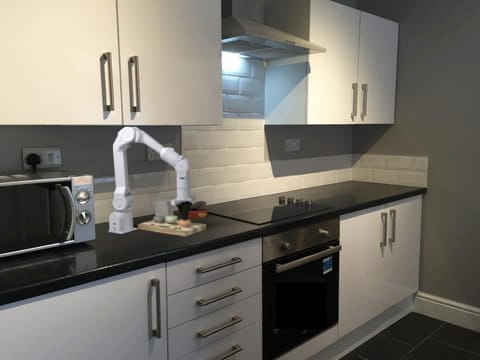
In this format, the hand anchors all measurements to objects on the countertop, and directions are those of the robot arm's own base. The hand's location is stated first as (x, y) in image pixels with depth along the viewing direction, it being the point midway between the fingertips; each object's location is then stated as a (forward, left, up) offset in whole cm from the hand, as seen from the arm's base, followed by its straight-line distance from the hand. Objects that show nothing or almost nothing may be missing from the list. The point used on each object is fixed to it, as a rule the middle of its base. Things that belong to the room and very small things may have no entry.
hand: (184, 219), depth 178 cm
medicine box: (+16, +25, -5) cm, 30 cm away
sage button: (0, +7, -2) cm, 7 cm away
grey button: (0, +14, -2) cm, 14 cm away
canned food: (+27, +13, -5) cm, 30 cm away
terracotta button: (0, 0, -2) cm, 2 cm away
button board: (0, +7, -5) cm, 8 cm away
